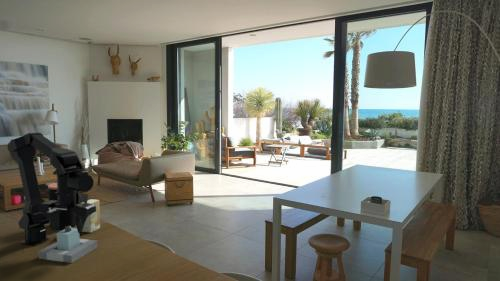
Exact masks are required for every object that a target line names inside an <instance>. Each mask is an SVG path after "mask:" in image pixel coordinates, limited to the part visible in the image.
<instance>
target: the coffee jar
mask: <svg viewBox="0 0 500 281" xmlns="http://www.w3.org/2000/svg"><path fill="white" fill-rule="evenodd" d="M47 188H48V191H47V195H48V196H47V197H48V201H50V200H55V201H58V196H56V195H55V192H57V182H54V183H50V184H48V185H47ZM75 216H77V215H76V214H75V211H67V210H61V211H60V214H59V230H58V231H62V230H64V229H65V226H71V228H75V226H76V221H75ZM49 227H50V228H51V229H52V230H55V229H54V227H53V226H52V224H51V223H50V222H49ZM76 227H77V226H76Z"/></svg>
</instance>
